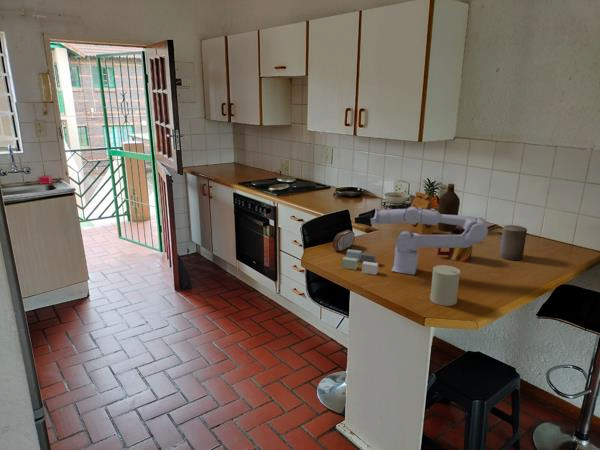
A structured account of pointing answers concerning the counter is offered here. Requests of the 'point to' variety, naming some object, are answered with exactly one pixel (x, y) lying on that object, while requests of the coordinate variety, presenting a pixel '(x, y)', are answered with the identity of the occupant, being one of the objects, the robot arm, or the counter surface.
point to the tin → (343, 240)
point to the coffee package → (423, 203)
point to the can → (445, 285)
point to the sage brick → (350, 263)
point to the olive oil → (448, 207)
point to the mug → (457, 250)
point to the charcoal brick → (368, 257)
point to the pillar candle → (513, 242)
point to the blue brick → (354, 254)
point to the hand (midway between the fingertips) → (356, 218)
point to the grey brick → (370, 268)
